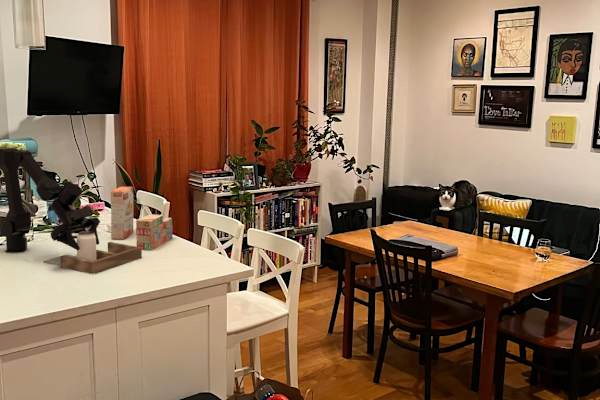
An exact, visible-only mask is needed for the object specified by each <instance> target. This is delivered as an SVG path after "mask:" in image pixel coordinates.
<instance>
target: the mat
mask: <svg viewBox="0 0 600 400" xmlns="http://www.w3.org/2000/svg"><path fill="white" fill-rule="evenodd" d="M64 255H65V256H70V257H75V258H77V255H72V254H68V253H67V254H64ZM60 256H61V255H60ZM60 256H56V257H54V258H50V259H46V260H43V261H42V263H45V264H50V265H56V266H60V267H61V263H60Z"/></svg>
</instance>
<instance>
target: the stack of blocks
mask: <svg viewBox="0 0 600 400" xmlns="http://www.w3.org/2000/svg"><path fill="white" fill-rule="evenodd" d="M135 222H136V224H135V225H136V229H135V231H136V247H142V251H148V252H149V251H153V250H155V249H157V248H159V247H160V246H162V245H164V244H165V243H166V242H169V241H170V240H172V239H173V218H172V217H167V216H166V217H164V214H150V213H149V214H148V215H145V216H142V217H141V218H137V219H136V221H135Z"/></svg>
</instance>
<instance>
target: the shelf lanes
mask: <svg viewBox="0 0 600 400" xmlns="http://www.w3.org/2000/svg"><path fill="white" fill-rule="evenodd" d="M142 253H143V250H142V247H137V245H132V244H131V245H129V244H124V243H119V242H113V241H108V242H107V251H104V250H99V249H96V258H97V260H95V261H90V260H85V259H80V258H75V257H70V256H65V255H66V254H63V255H60V263H61V266H60V268H64V269H69V270H72V271H73V270H74V271H77V272H81V273H82V272H84V273H86V272H87V273H86V274H91V273H92V275H94V273H95V274H98V273H101V272H105V271H106V270H109V269H112V268H115V267H119V266H122V265H125V264H127V263H130V262H133V261H137V260H139V259H142V257H143V256H142ZM97 272H98V273H97Z"/></svg>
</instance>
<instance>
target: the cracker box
mask: <svg viewBox="0 0 600 400" xmlns="http://www.w3.org/2000/svg"><path fill="white" fill-rule="evenodd" d="M110 215H111V216H110V222H111V223H110V226H111V227H110V232H111V234H110V235H111V236H110V237H111V240H125V239H126V238H128V237H129V236H130V235H132V234H133V233H134V187H133V186H119V187H116V188H115V189H112V190H111V191H110Z"/></svg>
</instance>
